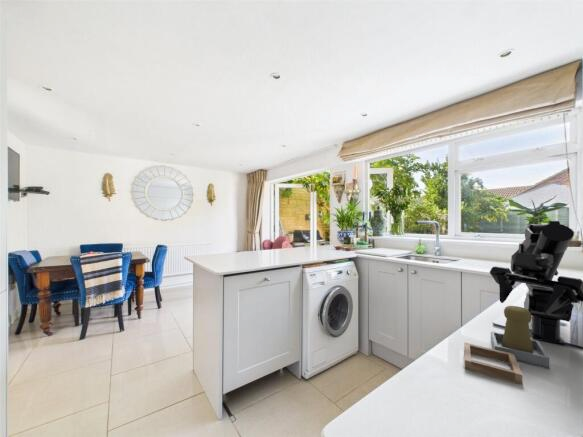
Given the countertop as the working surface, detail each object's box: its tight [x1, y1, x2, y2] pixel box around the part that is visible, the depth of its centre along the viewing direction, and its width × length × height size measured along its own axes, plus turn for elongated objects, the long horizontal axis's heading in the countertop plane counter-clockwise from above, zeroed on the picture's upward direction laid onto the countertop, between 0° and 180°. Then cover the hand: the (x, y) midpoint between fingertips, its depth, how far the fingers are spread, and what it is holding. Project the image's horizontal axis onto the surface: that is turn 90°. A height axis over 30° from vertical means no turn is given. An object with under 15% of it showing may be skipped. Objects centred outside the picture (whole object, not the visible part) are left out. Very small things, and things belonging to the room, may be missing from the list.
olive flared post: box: [502, 305, 533, 353], centre depth 63 cm, size 6×6×11 cm
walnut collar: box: [463, 342, 523, 386], centre depth 58 cm, size 10×10×2 cm
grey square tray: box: [490, 330, 551, 370], centre depth 63 cm, size 10×10×2 cm
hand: (521, 307), depth 65 cm, fingers open, 9 cm apart
